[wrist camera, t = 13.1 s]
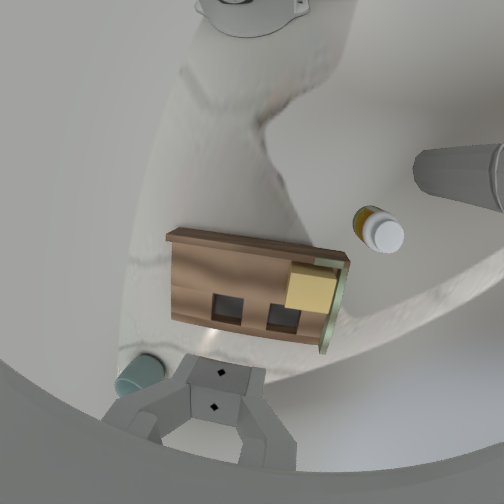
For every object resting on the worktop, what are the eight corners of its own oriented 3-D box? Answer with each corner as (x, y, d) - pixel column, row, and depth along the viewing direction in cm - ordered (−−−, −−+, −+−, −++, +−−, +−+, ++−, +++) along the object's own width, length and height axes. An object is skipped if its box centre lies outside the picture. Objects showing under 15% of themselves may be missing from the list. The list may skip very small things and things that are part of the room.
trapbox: (178, 227, 44) (164, 234, 38) (344, 251, 41) (351, 263, 36) (176, 312, 48) (164, 327, 43) (323, 337, 46) (325, 356, 40)
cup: (138, 343, 52) (114, 372, 42) (171, 360, 52) (152, 392, 42) (134, 368, 54) (113, 396, 45) (165, 383, 54) (147, 414, 44)
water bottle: (408, 193, 37) (520, 224, 13) (411, 143, 35) (523, 125, 11) (453, 201, 36) (565, 237, 12) (456, 154, 34) (570, 156, 10)
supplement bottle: (354, 243, 41) (371, 263, 31) (349, 208, 39) (366, 219, 30) (387, 237, 39) (411, 254, 30) (382, 202, 38) (407, 211, 29)
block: (291, 260, 40) (291, 272, 35) (331, 267, 39) (337, 279, 35) (285, 292, 41) (284, 307, 37) (324, 298, 41) (328, 313, 36)
